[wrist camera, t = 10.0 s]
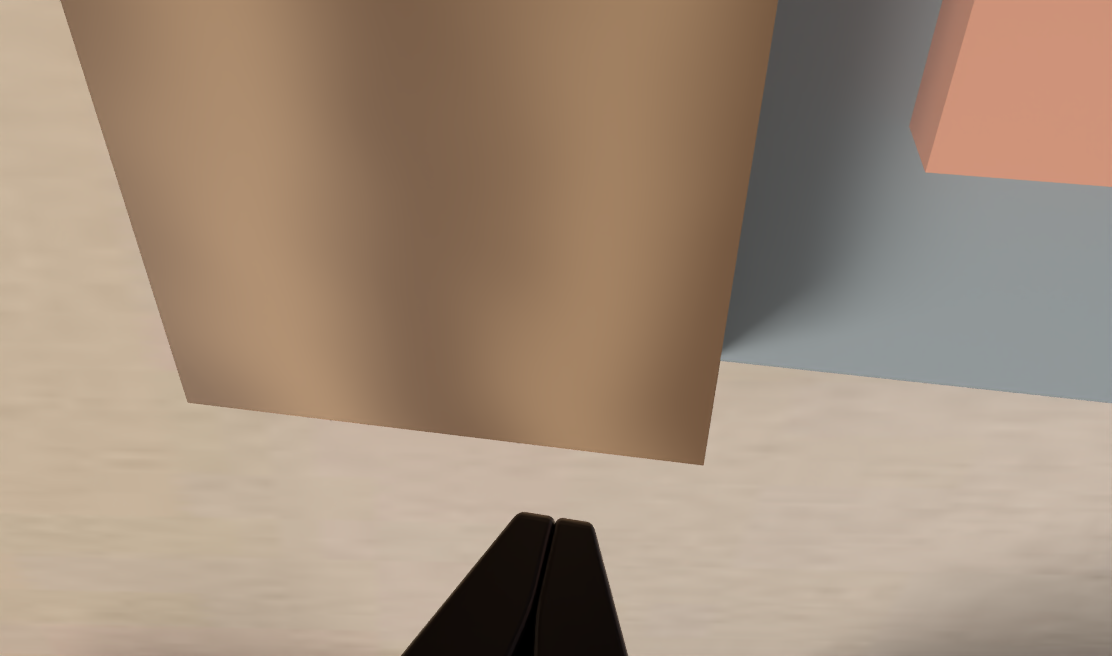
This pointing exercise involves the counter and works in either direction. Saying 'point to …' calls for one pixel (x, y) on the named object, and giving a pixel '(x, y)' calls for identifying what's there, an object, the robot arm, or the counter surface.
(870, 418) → the counter surface
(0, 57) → the counter surface
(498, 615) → the robot arm
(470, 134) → the wooden block
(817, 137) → the mat
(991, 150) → the pink eraser block
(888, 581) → the counter surface
